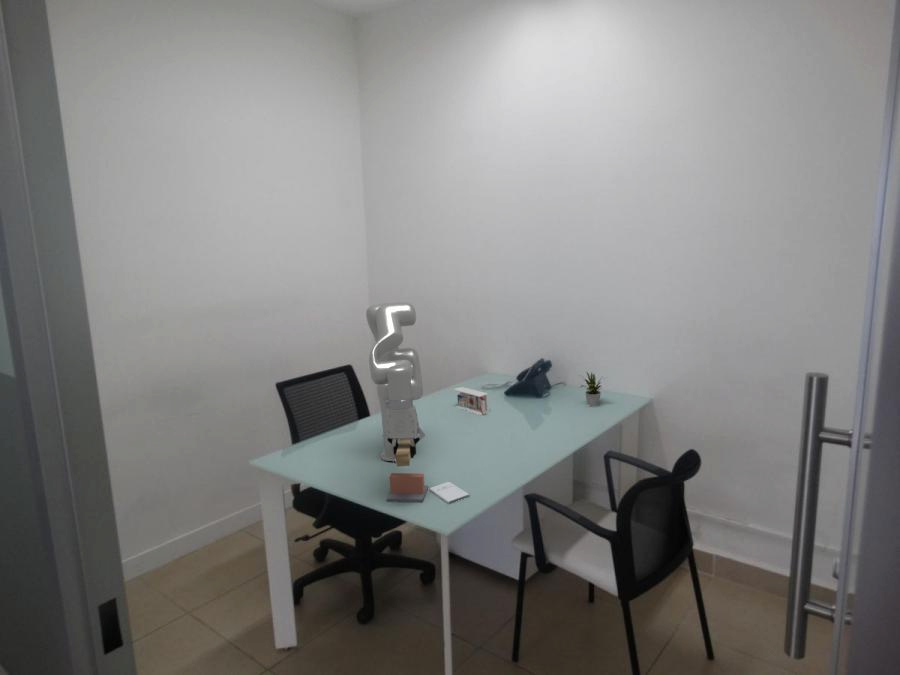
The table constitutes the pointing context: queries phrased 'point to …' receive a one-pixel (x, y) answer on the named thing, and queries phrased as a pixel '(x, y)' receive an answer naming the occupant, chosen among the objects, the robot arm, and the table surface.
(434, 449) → the table surface
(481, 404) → the cigarette display
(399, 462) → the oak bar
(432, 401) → the table surface
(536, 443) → the table surface
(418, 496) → the fulcrum board
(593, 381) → the house plant
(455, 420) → the table surface
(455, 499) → the external hard drive
